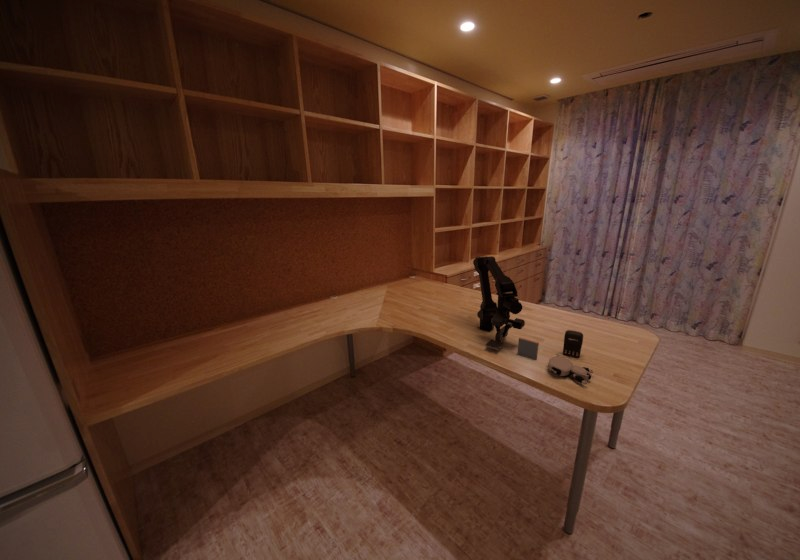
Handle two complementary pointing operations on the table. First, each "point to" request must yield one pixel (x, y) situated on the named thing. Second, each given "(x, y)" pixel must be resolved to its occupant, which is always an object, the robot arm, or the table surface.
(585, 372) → the robot toy
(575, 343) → the battery charger
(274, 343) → the table surface
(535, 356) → the tile
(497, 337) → the turner
